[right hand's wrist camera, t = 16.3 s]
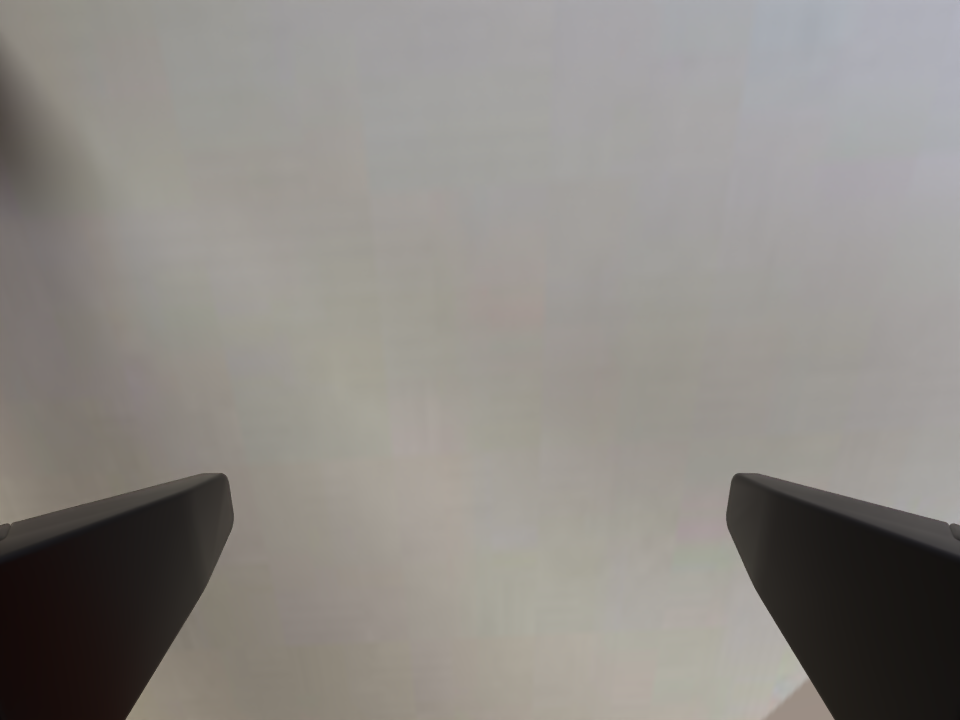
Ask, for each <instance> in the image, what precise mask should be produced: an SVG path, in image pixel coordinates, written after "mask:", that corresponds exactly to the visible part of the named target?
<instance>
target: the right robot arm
mask: <svg viewBox="0 0 960 720" xmlns="http://www.w3.org/2000/svg"><path fill="white" fill-rule="evenodd" d="M233 521H234V513H233V506H232V500H231V493H230V487H229V481H228V478H227V476H226V475H225V474H222V473H203V474H198V475H194V476H191V477H187V478H183V479H179V480H175V481H171V482H168V483H164V484H160V485H156V486H152V487H148V488H145V489H141V490H137V491H133V492H129V493H125V494H121V495H118V496H114V497H110V498H106V499H102V500H98V501H95V502H91V503H87V504H83V505H79V506H75V507H71V508H68V509H64V510H60V511H56V512H52V513H48V514H45V515H41V516H37V517H33V518H29V519H25V520H21V521H18V522H14V523H12V525H11V526H10V524H3V525H0V720H125V719H126V718H127V716H128V715H129V713H130V711H131V710H132V708H133V706H134V705H135V703H136V701H137V700H138V698H139V696H140V695H141V693H142V692H143V690H144V688H145V687H146V685H147V683H148V682H149V680H150V678H151V677H152V675H153V674H154V672H155V670H156V669H157V667H158V665H159V664H160V662H161V660H162V659H163V657H164V655H165V654H166V652H167V651H168V649H169V647H170V646H171V644H172V642H173V641H174V639H175V637H176V636H177V634H178V632H179V631H180V629H181V628H182V626H183V624H184V623H185V621H186V619H187V618H188V616H189V614H190V613H191V611H192V610H193V608H194V606H195V605H196V603H197V601H198V600H199V598H200V596H201V594H202V593H203V591H204V589H205V587H206V585H207V583H208V581H209V579H210V577H211V575H212V572H213V570H214V568H215V566H216V563H217V561H218V559H219V557H220V554H221V552H222V550H223V548H224V545H225V543H226V541H227V539H228V536H229V534H230V532H231V530H232V526H233ZM726 521H727V526H728V530H729V532H730V534H731V536H732V539H733V541H734V543H735V545H736V548H737V550H738V552H739V554H740V557H741V559H742V561H743V563H744V566H745V568H746V570H747V572H748V575H749V577H750V579H751V581H752V583H753V585H754V587H755V589H756V591H757V593H758V594H759V596H760V598H761V600H762V601H763V603H764V605H765V606H766V608H767V610H768V611H769V613H770V614H771V616H772V618H773V619H774V621H775V623H776V624H777V626H778V628H779V629H780V631H781V632H782V634H783V636H784V637H785V639H786V641H787V642H788V644H789V646H790V647H791V649H792V651H793V652H794V654H795V655H796V657H797V659H798V660H799V662H800V664H801V665H802V667H803V669H804V670H805V672H806V673H807V675H808V677H809V678H810V680H811V682H812V683H813V685H814V687H815V688H816V690H817V692H818V693H819V695H820V696H821V698H822V700H823V701H824V703H825V705H826V706H827V708H828V710H829V711H830V713H831V714H832V716H833V718H834V719H835V720H960V525H957V524H950V526H949V524H948V523H946V522H942V521H939V520H935V519H931V518H927V517H923V516H919V515H916V514H912V513H908V512H904V511H900V510H896V509H892V508H889V507H885V506H881V505H877V504H873V503H869V502H866V501H862V500H858V499H854V498H850V497H846V496H842V495H839V494H835V493H831V492H827V491H823V490H819V489H816V488H812V487H808V486H804V485H800V484H796V483H792V482H789V481H785V480H781V479H777V478H773V477H769V476H766V475H762V474H757V473H738V474H735V475H734V476H733V478H732V481H731V487H730V493H729V500H728V506H727V513H726Z"/></svg>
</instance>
